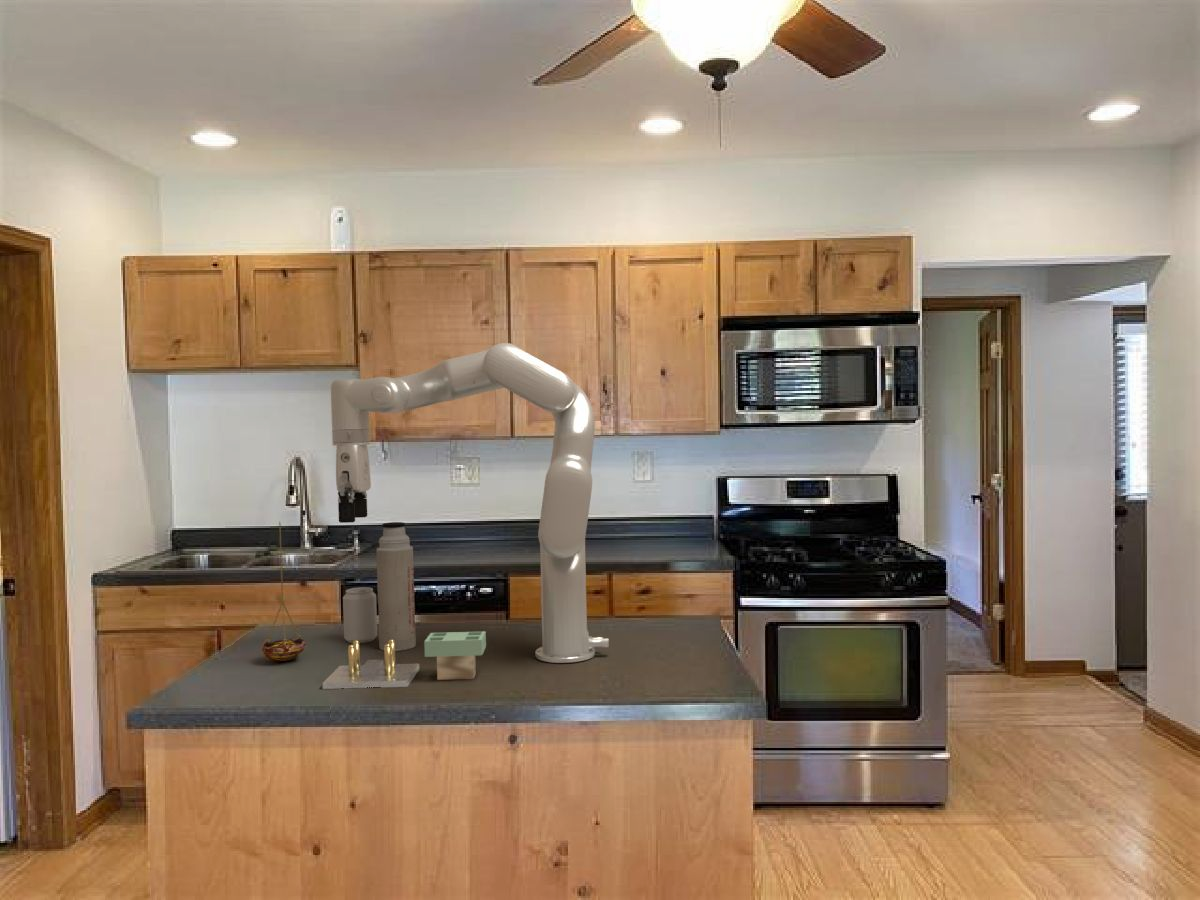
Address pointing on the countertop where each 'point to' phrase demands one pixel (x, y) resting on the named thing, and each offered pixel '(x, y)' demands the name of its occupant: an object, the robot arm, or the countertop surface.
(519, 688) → the countertop surface
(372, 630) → the can
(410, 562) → the thermos bottle
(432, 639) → the board
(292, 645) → the bird feeder
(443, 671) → the block
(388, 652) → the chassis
